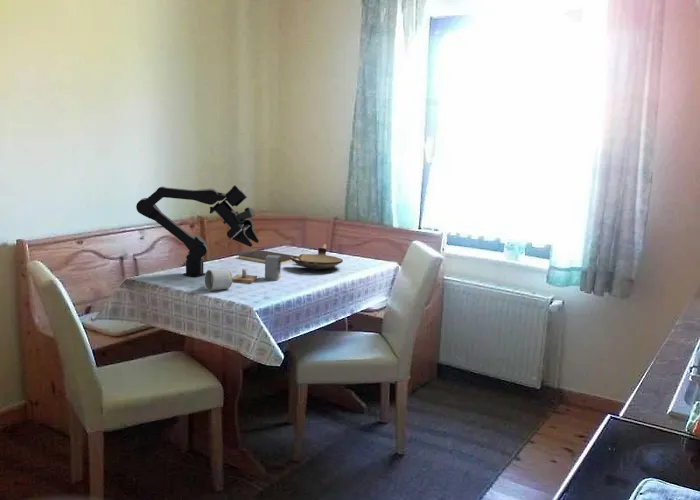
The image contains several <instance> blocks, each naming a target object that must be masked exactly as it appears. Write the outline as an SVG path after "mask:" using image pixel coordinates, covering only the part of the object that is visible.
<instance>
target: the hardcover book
mask: <svg viewBox="0 0 700 500" xmlns="http://www.w3.org/2000/svg"><path fill="white" fill-rule="evenodd" d="M268 255H278V256H281V266H282V265H284V264H285V265H286V264H289V263H294V262H293V261H292V260H291V259H290V256H291V257H292V258H294V259H296V260H299V259H298V258H297V256H298V255H293V254H287V253H280V252H274V251H268V250H261V249H257V250H253V251H248V252H244V253H238V254H237V256H238V259H241V260H247V261H252V262H258V263H263V264H265V257H266V256H268Z"/></svg>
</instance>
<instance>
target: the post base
mask: <svg viewBox="0 0 700 500" xmlns="http://www.w3.org/2000/svg"><path fill="white" fill-rule="evenodd" d="M241 272H242V273H241V274H239V273H238V274H236V275H234V276H232V283H239V284H240V283H244V284H252V283H254V282H255V281H256V280H257V279H258V275H250V274H249V275H248V274H247V269H246V268H243V269H242V271H241Z"/></svg>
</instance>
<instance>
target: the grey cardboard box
mask: <svg viewBox="0 0 700 500" xmlns="http://www.w3.org/2000/svg"><path fill="white" fill-rule="evenodd" d="M281 266H282V265H281V256H278V255H268V256H266V257H265V263H264V280H265V281H279V280H280V278H281V274H282V273H281Z"/></svg>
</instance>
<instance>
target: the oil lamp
mask: <svg viewBox="0 0 700 500" xmlns="http://www.w3.org/2000/svg"><path fill="white" fill-rule="evenodd" d="M327 248H328V247H327V244H326V243H324V244H323V245H322V246H321V247H318V253H313V254H312V253H302V254H299V255H296V256H297V258H298V259H299V260H296V259H294V258H292V257H291V256H290V259H291V260H292V261H293V262H292V263H295V264H297V265H298V266H301V267H302V268H306V269H312V270H329V269H330V268H334V267H336V266H338V265H341V264H342V263H343V261H344V260H343V258H341V257H337V256H333V255H326V254H327Z"/></svg>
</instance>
